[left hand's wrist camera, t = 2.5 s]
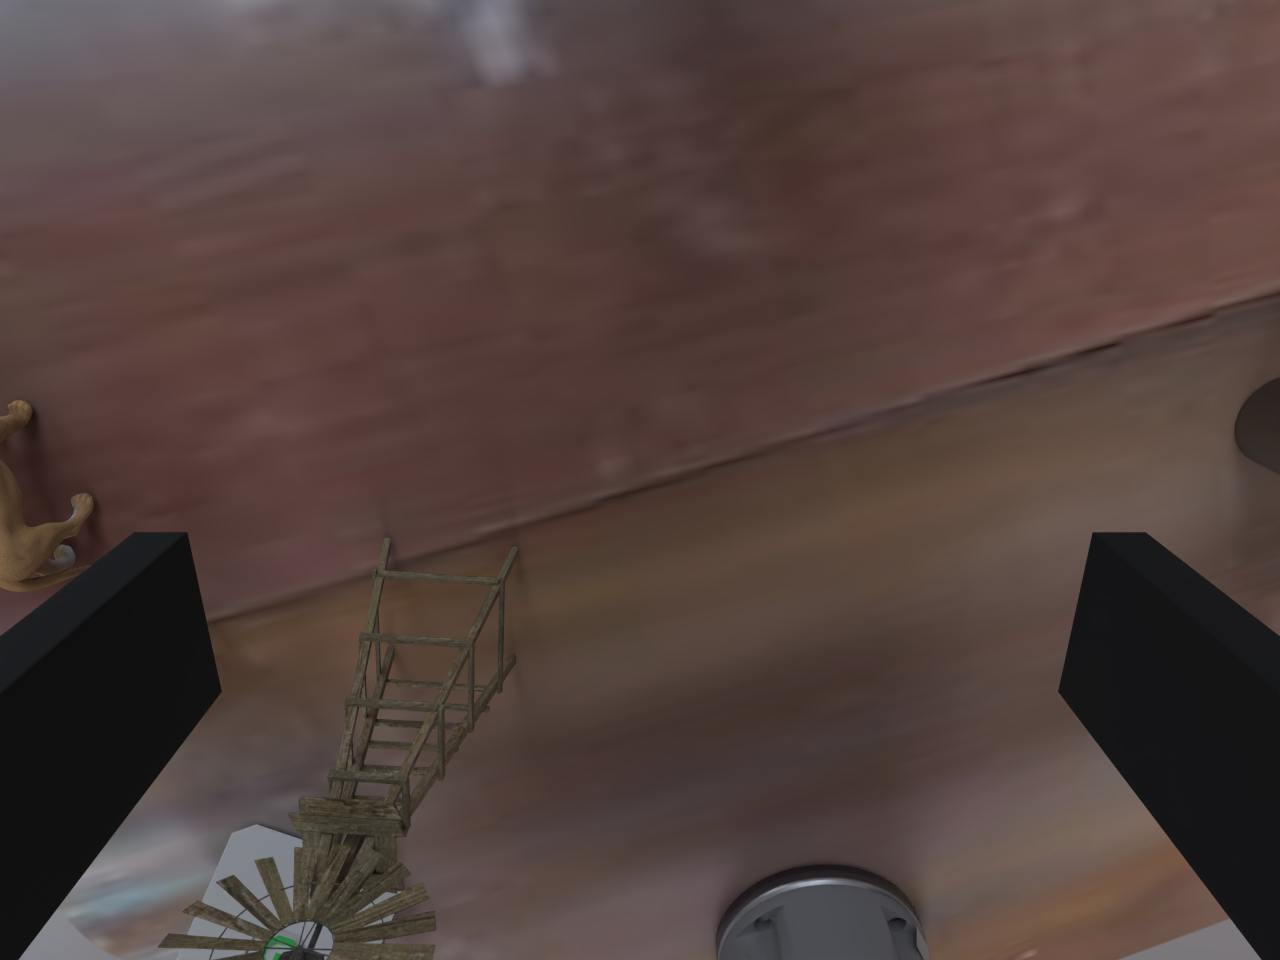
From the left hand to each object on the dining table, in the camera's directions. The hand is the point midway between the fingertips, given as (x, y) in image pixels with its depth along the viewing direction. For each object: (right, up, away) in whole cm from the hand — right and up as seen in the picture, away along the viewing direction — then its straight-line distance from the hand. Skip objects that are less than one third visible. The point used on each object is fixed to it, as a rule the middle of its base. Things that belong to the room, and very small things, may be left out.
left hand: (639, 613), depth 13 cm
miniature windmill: (-12, -6, +41) cm, 43 cm away
